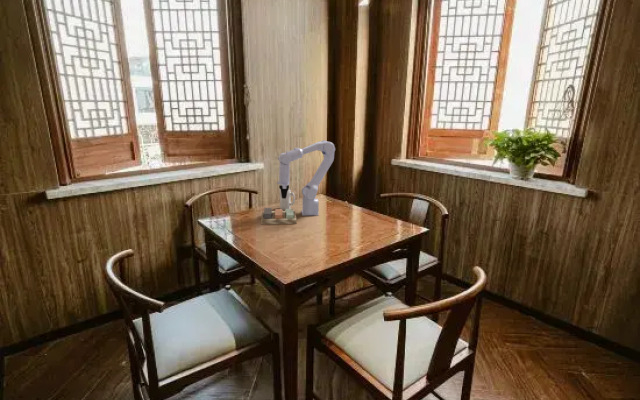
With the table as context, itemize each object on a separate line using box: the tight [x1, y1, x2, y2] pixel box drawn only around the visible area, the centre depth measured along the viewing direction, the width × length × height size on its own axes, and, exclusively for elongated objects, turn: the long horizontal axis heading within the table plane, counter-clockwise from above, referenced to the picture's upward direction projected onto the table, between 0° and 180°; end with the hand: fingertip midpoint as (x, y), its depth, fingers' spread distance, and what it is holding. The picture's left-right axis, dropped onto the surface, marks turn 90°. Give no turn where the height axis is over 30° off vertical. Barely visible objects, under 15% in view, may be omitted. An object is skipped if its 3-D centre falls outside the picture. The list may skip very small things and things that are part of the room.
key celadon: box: [285, 208, 294, 219], centre depth 194 cm, size 4×11×4 cm, turn 7°
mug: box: [279, 188, 296, 211], centre depth 212 cm, size 10×7×12 cm, turn 69°
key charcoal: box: [263, 207, 273, 219], centre depth 193 cm, size 4×11×4 cm, turn 7°
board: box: [260, 210, 297, 225], centre depth 194 cm, size 19×15×2 cm
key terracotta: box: [274, 208, 283, 219], centre depth 194 cm, size 4×11×4 cm, turn 7°
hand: (283, 198), depth 198 cm, fingers closed
